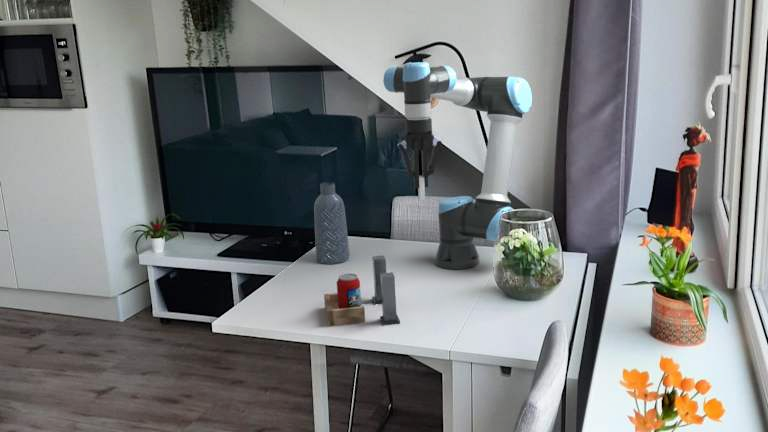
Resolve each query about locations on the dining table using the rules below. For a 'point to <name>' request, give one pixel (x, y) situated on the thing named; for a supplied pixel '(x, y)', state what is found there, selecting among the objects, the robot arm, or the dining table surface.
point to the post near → (388, 299)
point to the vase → (330, 226)
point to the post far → (378, 277)
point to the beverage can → (348, 291)
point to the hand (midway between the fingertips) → (421, 198)
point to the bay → (342, 312)
